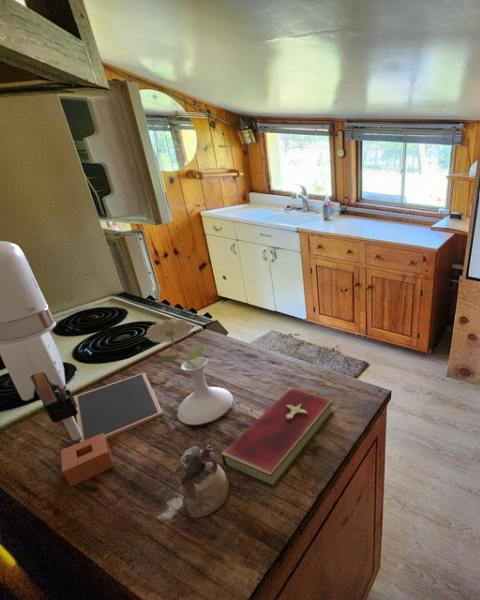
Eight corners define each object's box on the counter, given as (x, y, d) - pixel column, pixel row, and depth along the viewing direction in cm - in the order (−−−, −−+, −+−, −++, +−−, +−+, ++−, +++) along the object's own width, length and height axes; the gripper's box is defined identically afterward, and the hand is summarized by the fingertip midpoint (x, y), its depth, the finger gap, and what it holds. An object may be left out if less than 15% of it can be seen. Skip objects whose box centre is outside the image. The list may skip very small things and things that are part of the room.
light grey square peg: (73, 444, 59) (47, 392, 54) (73, 440, 60) (47, 388, 55) (84, 440, 60) (59, 389, 55) (83, 436, 61) (59, 385, 56)
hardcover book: (223, 467, 64) (219, 451, 62) (292, 398, 82) (290, 385, 80) (273, 489, 60) (270, 473, 58) (333, 412, 78) (332, 399, 76)
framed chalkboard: (82, 449, 66) (80, 446, 65) (74, 398, 78) (73, 395, 78) (163, 415, 75) (162, 412, 75) (145, 374, 88) (144, 371, 87)
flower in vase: (237, 391, 83) (218, 304, 73) (229, 424, 73) (206, 328, 63) (180, 399, 80) (151, 308, 69) (163, 435, 70) (126, 336, 59)
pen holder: (70, 486, 59) (62, 471, 57) (68, 464, 63) (60, 450, 61) (114, 466, 63) (107, 451, 61) (110, 446, 67) (103, 432, 65)
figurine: (193, 482, 60) (177, 436, 55) (234, 476, 62) (222, 430, 57) (178, 521, 54) (159, 473, 49) (224, 513, 56) (210, 465, 51)
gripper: (-15, 313, 52) (35, 401, 60) (-27, 354, 42) (34, 454, 50) (51, 300, 57) (89, 383, 65) (54, 334, 47) (98, 428, 55)
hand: (65, 414), depth 57 cm, fingers closed on light grey square peg, 1 cm apart
